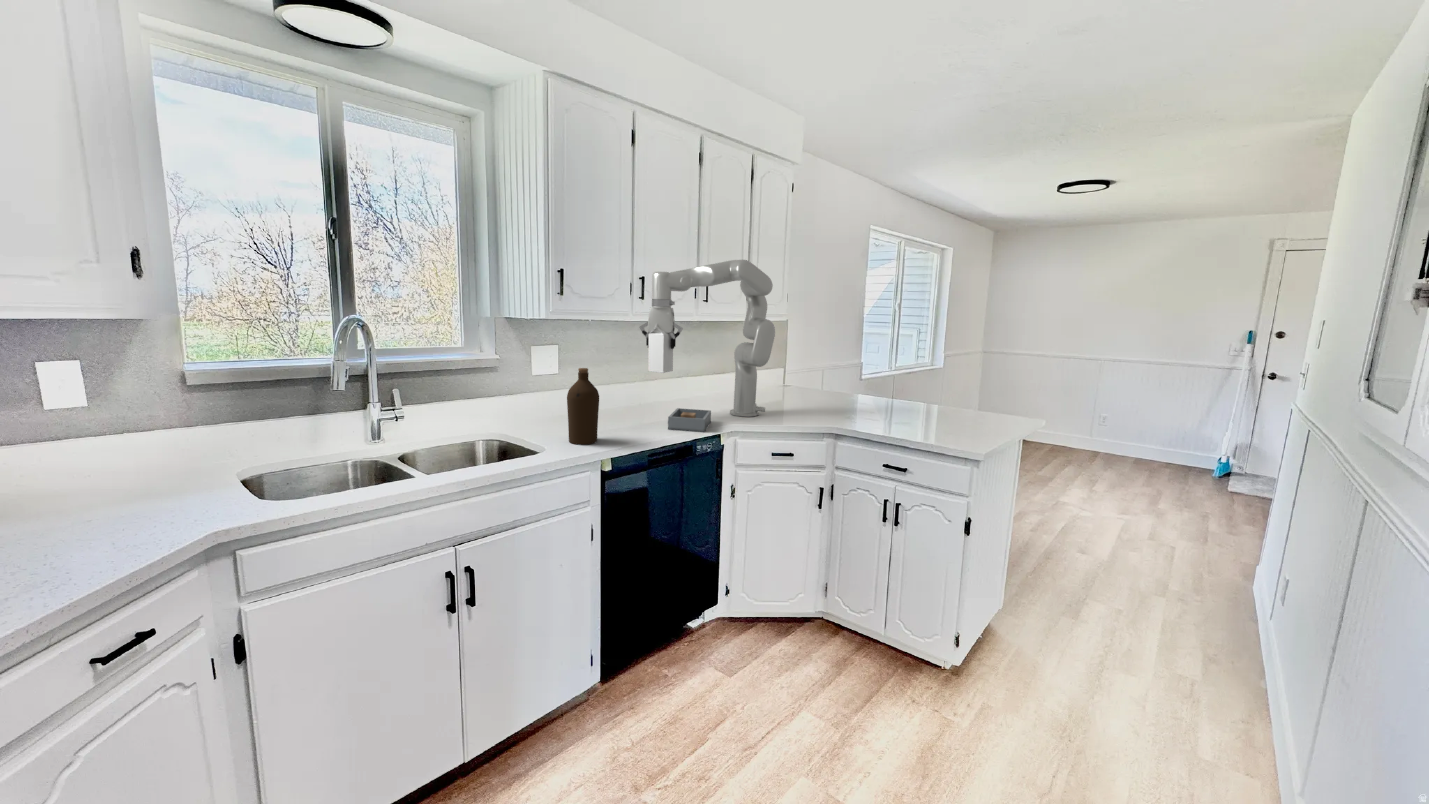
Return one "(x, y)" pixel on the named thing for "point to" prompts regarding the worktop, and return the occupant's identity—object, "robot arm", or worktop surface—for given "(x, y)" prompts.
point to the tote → (689, 420)
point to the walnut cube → (688, 415)
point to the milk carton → (660, 352)
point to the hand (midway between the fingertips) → (660, 348)
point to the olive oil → (583, 410)
